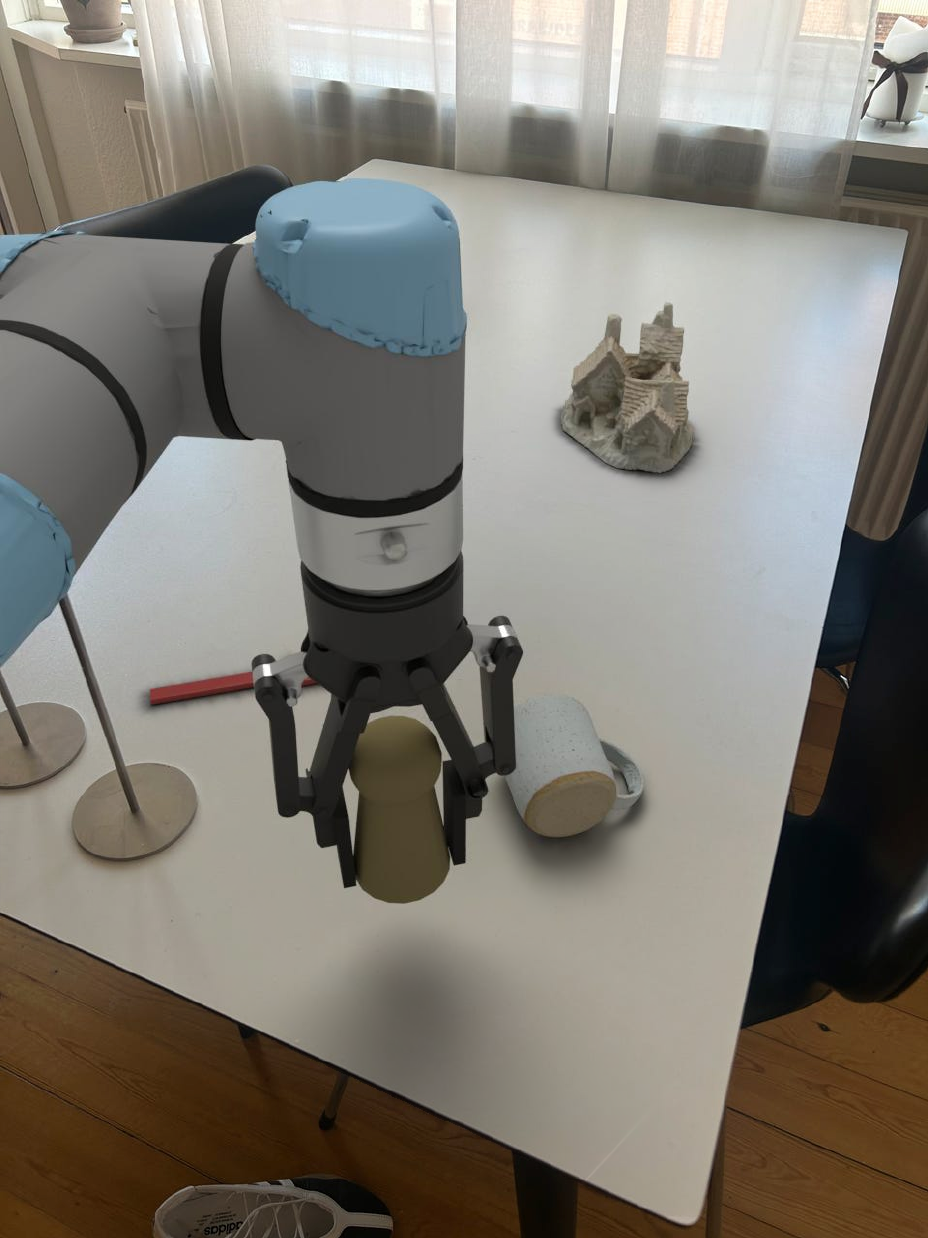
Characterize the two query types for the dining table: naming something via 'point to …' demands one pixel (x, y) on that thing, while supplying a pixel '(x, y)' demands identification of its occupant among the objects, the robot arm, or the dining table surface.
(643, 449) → the ceramic cottage
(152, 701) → the fork
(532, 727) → the ceramic mug
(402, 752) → the tan peg doll
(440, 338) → the robot arm
